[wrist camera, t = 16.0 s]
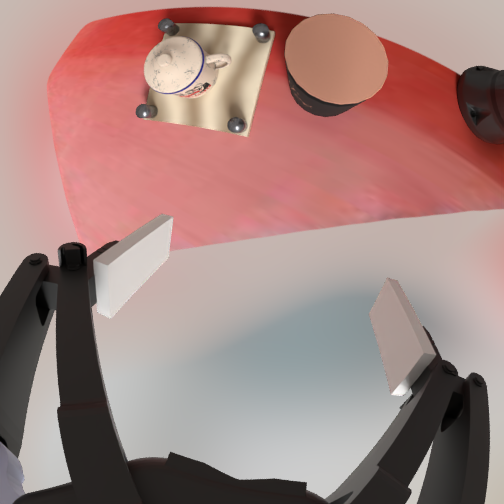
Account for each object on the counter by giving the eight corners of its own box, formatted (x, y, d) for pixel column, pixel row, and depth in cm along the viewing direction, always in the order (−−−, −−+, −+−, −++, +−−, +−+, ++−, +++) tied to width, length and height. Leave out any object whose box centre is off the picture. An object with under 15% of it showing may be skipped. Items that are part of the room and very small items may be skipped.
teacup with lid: (171, 105, 41) (135, 99, 30) (167, 58, 37) (132, 42, 27) (241, 92, 39) (222, 77, 28) (235, 43, 35) (215, 16, 25)
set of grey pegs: (272, 32, 34) (270, 24, 30) (245, 134, 41) (241, 134, 38) (168, 24, 34) (160, 18, 31) (144, 117, 42) (134, 117, 39)
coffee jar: (287, 56, 36) (280, 12, 20) (353, 59, 35) (382, 19, 18) (291, 117, 40) (286, 103, 24) (356, 119, 39) (392, 109, 22)
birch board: (275, 34, 35) (274, 31, 33) (248, 136, 43) (247, 136, 41) (171, 25, 36) (167, 23, 34) (147, 119, 44) (143, 119, 42)
